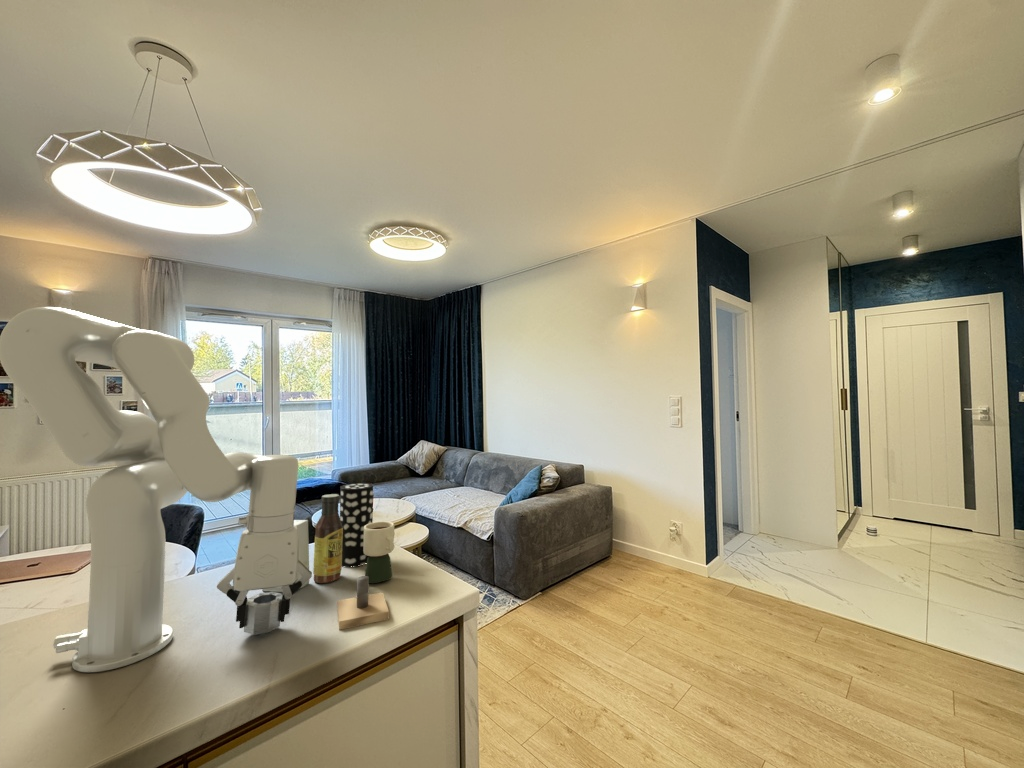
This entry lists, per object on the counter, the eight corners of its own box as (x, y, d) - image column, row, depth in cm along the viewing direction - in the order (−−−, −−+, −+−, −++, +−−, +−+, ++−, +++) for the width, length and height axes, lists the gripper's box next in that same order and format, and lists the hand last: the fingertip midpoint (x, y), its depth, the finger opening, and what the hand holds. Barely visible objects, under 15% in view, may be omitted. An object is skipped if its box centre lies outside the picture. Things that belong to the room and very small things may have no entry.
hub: (242, 636, 72) (244, 608, 73) (247, 620, 78) (249, 594, 78) (278, 630, 75) (281, 603, 75) (281, 615, 80) (283, 590, 80)
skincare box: (309, 583, 97) (311, 519, 98) (291, 595, 91) (293, 526, 92) (278, 580, 99) (280, 517, 99) (258, 591, 93) (260, 524, 93)
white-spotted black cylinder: (377, 561, 111) (378, 486, 112) (347, 570, 105) (349, 490, 106) (363, 553, 117) (364, 482, 118) (333, 561, 111) (335, 486, 112)
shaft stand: (339, 629, 77) (339, 591, 78) (337, 608, 85) (337, 573, 86) (388, 619, 81) (389, 582, 81) (382, 599, 89) (382, 566, 90)
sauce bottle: (330, 585, 96) (332, 499, 97) (307, 583, 97) (309, 498, 98) (347, 574, 102) (349, 493, 103) (324, 572, 103) (326, 492, 104)
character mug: (404, 581, 98) (405, 526, 99) (378, 592, 93) (379, 533, 93) (378, 569, 105) (379, 518, 106) (352, 579, 100) (353, 524, 100)
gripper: (211, 531, 70) (200, 641, 69) (321, 524, 78) (314, 623, 76) (220, 519, 77) (211, 619, 76) (321, 514, 84) (314, 605, 83)
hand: (263, 620), depth 76 cm, fingers closed on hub, 5 cm apart
